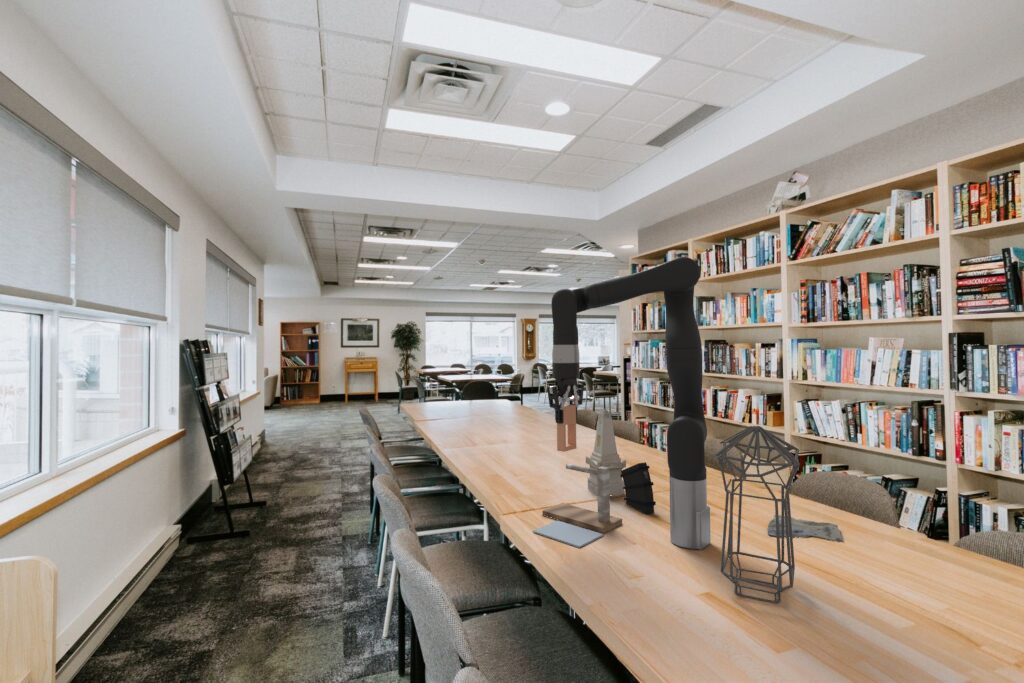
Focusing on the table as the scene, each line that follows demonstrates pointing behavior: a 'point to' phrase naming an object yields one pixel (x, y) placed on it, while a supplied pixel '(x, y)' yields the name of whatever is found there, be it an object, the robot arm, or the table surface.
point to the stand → (585, 517)
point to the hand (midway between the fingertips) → (566, 421)
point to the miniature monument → (606, 456)
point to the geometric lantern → (784, 502)
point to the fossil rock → (807, 529)
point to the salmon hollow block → (570, 421)
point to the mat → (568, 533)
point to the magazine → (638, 488)
